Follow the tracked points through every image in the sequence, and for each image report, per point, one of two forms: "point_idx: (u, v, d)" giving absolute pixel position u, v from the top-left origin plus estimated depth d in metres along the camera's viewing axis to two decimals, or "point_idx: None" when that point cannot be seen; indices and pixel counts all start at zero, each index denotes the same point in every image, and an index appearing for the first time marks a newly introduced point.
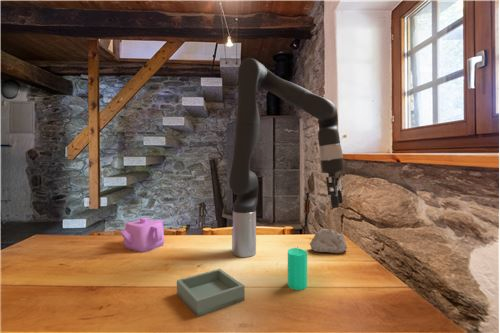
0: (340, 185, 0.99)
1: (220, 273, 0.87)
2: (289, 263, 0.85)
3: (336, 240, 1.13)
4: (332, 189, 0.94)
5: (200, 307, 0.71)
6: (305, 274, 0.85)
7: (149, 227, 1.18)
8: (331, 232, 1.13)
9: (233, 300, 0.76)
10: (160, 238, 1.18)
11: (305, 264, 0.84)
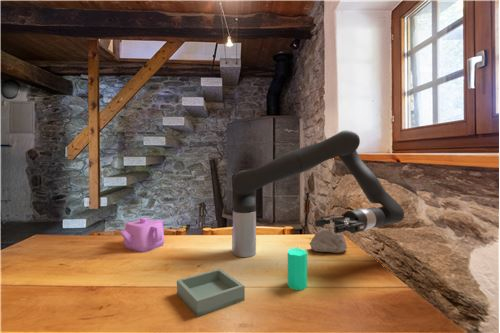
0: (333, 226, 0.97)
1: (220, 273, 0.87)
2: (289, 263, 0.85)
3: (335, 239, 1.14)
4: None
5: (200, 307, 0.71)
6: (305, 274, 0.85)
7: (149, 227, 1.18)
8: (331, 232, 1.13)
9: (233, 300, 0.76)
10: (160, 238, 1.18)
11: (305, 264, 0.84)
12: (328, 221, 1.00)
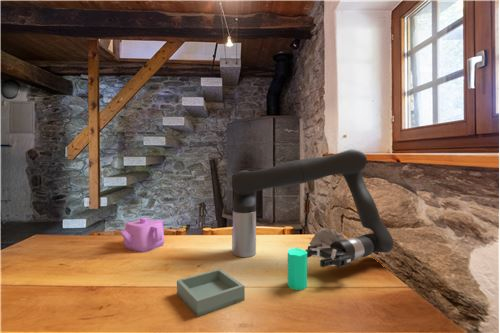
0: (320, 257, 0.95)
1: (220, 273, 0.87)
2: (289, 263, 0.85)
3: (335, 239, 1.14)
4: None
5: (200, 307, 0.71)
6: (305, 274, 0.85)
7: (149, 227, 1.18)
8: (331, 232, 1.13)
9: (233, 300, 0.76)
10: (160, 238, 1.18)
11: (305, 264, 0.84)
12: (315, 251, 0.98)
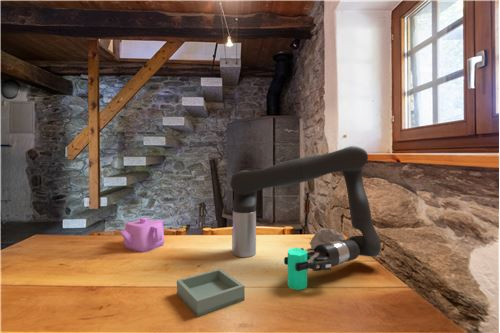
0: None
1: (220, 273, 0.87)
2: (289, 263, 0.85)
3: (335, 239, 1.14)
4: (312, 262, 0.86)
5: (200, 307, 0.71)
6: (305, 274, 0.85)
7: (149, 227, 1.18)
8: (331, 231, 1.14)
9: (233, 300, 0.76)
10: (160, 238, 1.18)
11: None
12: None
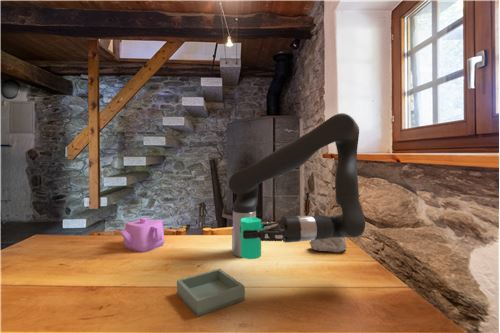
0: None
1: (220, 273, 0.87)
2: None
3: (335, 239, 1.14)
4: None
5: (200, 307, 0.71)
6: (255, 243, 0.80)
7: (149, 227, 1.18)
8: None
9: (233, 300, 0.76)
10: (160, 238, 1.18)
11: None
12: (262, 227, 0.88)
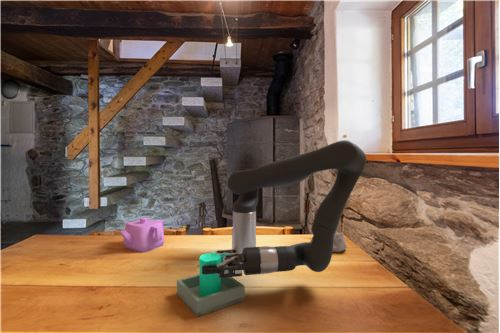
0: None
1: None
2: (199, 268, 0.79)
3: (335, 239, 1.15)
4: (224, 266, 0.77)
5: (200, 307, 0.71)
6: (213, 282, 0.77)
7: (149, 227, 1.18)
8: None
9: (233, 300, 0.76)
10: (160, 238, 1.18)
11: None
12: None
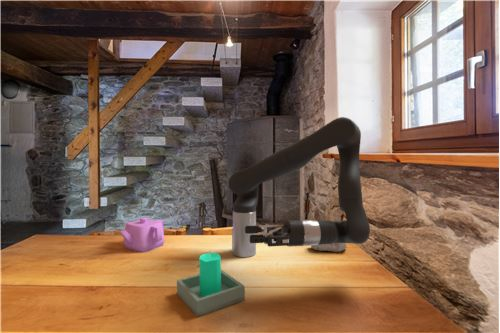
0: None
1: None
2: (199, 268, 0.79)
3: None
4: None
5: (200, 307, 0.71)
6: (213, 282, 0.77)
7: (149, 227, 1.18)
8: None
9: (233, 300, 0.76)
10: (160, 238, 1.18)
11: (213, 272, 0.77)
12: None
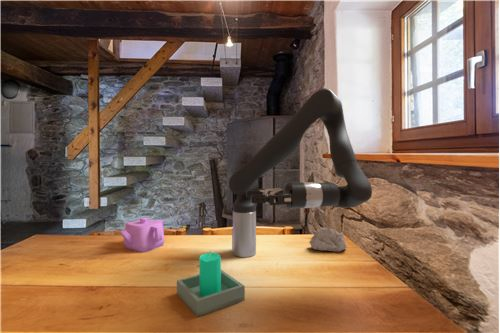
0: None
1: None
2: (199, 268, 0.79)
3: (335, 238, 1.15)
4: None
5: (200, 307, 0.71)
6: (213, 282, 0.77)
7: (149, 227, 1.18)
8: (330, 231, 1.15)
9: (233, 300, 0.76)
10: (160, 238, 1.18)
11: (213, 272, 0.77)
12: None
